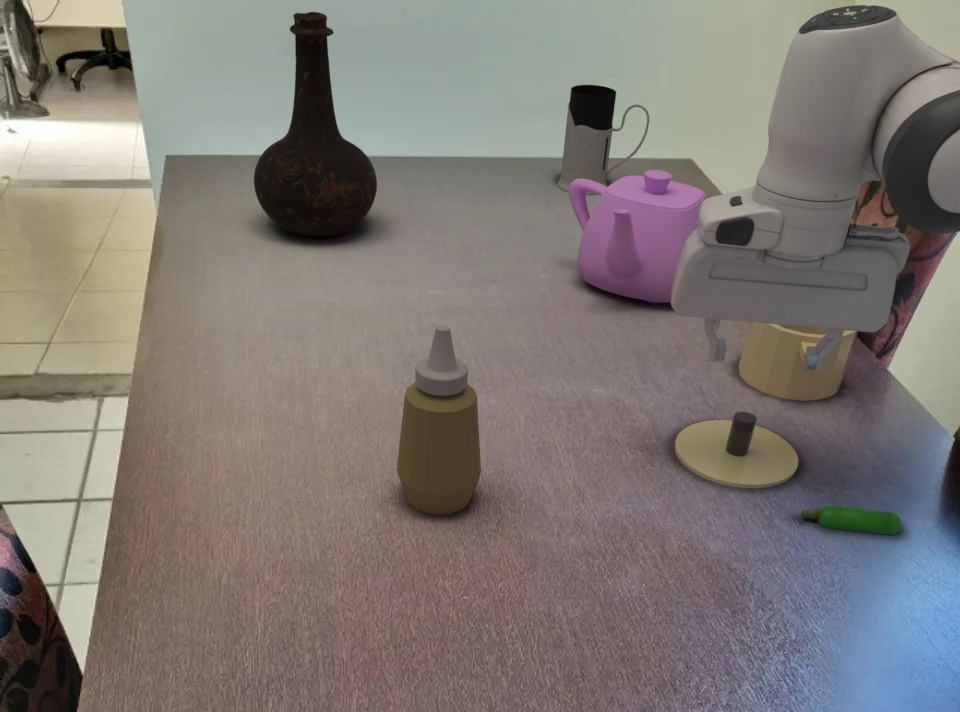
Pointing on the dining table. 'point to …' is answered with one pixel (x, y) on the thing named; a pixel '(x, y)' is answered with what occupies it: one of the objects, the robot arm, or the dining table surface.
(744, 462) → the lid
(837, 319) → the robot arm
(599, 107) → the glass holder
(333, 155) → the glass bottle
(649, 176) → the teapot
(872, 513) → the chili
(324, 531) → the dining table surface
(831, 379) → the pot
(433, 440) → the squeeze bottle
